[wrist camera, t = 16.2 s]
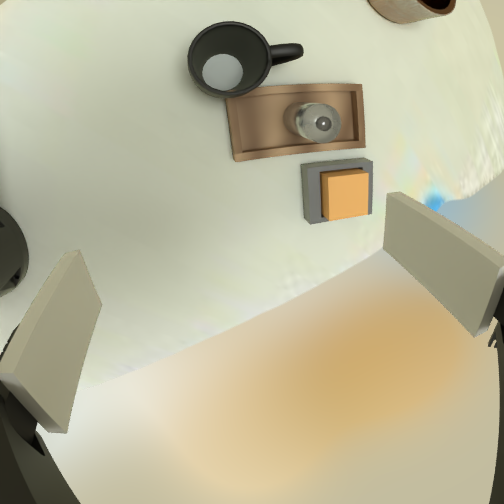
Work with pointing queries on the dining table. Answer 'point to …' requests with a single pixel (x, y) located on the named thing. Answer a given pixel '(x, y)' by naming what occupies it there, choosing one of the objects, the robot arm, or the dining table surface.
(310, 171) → the frame
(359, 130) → the wooden tray
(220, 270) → the dining table surface
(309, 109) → the cell
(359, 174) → the orange square block
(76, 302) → the robot arm
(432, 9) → the planter
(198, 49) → the mug
